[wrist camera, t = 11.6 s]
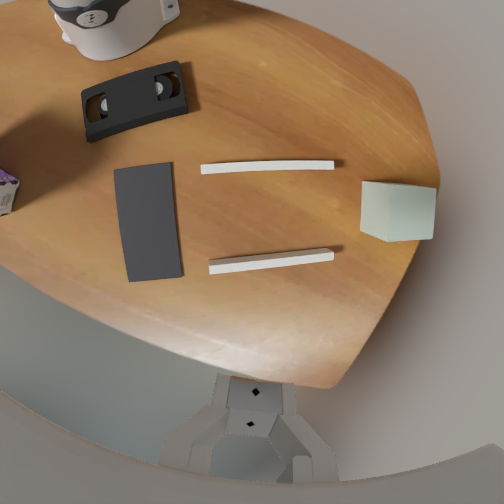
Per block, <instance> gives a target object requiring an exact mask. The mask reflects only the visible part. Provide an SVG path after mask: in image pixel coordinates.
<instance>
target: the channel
mask: <svg viewBox="0 0 504 504" xmlns="http://www.w3.org/2000/svg"><path fill="white" fill-rule="evenodd" d="M293 169H334V161H255V162H234V163H218V164H205V165H201V174H211V173H224V172H240V171H260V170H293ZM114 181H115V192H116V202H117V211H118V219H119V227H120V234H121V240H122V247H123V253H124V258H125V264H126V269H127V275H128V280H129V282H136V281H147V280H157V279H168V278H178V277H182V272H181V264H180V257H179V249H178V240H177V231H176V222H175V212H174V201H173V189H172V176H171V162H170V163H161V164H153V165H145V166H138V167H131V168H125V169H119V170H114ZM333 259H334V252H333V251H331V250H329V249H328V248H320V249H311V250H302V251H292V252H283V253H273V254H264V255H254V256H244V257H235V258H225V259H215V260H208V262H209V271H210V274H218V273H227V272H236V271H245V270H254V269H263V268H272V267H280V266H289V265H297V264H305V263H314V262H322V261H330V260H333Z"/></svg>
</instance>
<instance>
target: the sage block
mask: <svg viewBox="0 0 504 504" xmlns="http://www.w3.org/2000/svg"><path fill="white" fill-rule="evenodd" d="M435 205H436V188H430V187H423V186H416V185H409V184H398V183H384V182H368V181H362V205H361V226H360V231H362V232H364V233H367V234H369V235H372V236H374V237H377V238H379V239H381V240H384V241H386V242H392V241H406V240H420V239H432V237H433V229H434V218H435Z"/></svg>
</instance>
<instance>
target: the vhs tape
mask: <svg viewBox="0 0 504 504" xmlns="http://www.w3.org/2000/svg"><path fill="white" fill-rule="evenodd" d="M168 72H175V74H176V75H177V76H178V78H179V81H180V93H179V95H178V96H177V97H173V98H171V97H172V95H173V91H174V90H173V85H172V82H171V80H170V79H169V78H167V77H166V76H163V75H160V74H164V73H168ZM103 92H105V96H103V97H102V98H101V99H100V101H99V102H98V111H99V114H100V117H101V120H99V121H96V122H93V123H90V122H89V121H88V119H87V112H86V102H87V100H88V98H90V97H92V96H95V95H98V94H100V93H103ZM174 96H175V95H174ZM81 98H82V107H83V116H84V123H85V128H86V137H87V142H90V143H92V142H95V141H97V140H100V139H103V138H105V137H108V136H111V135H114V134H117V133H120V132H123V131H126V130H129V129H132V128H135V127H138V126H142V125H145V124H148V123H152V122H156V121H159V120H163V119H167V118H171V117H175V116H179V115H183V114H187V113H188V107H187V102H186V97H185V92H184V87H183V81H182V76H181V71H180V65H179V62H178V61H172V62H168V63H164V64H160V65H156V66H152V67H149V68H145V69H142V70H138V71H135V72H132V73H129V74H126V75H122V76H119V77H117V78H114V79H111V80H108V81H105V82H103V83H100V84H97V85H95V86H92V87H90V88H87V89H85V90H83V91H82V92H81ZM102 115H104V116H108V117H107V118H104V119H103V117H102Z"/></svg>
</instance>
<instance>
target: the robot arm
mask: <svg viewBox="0 0 504 504" xmlns="http://www.w3.org/2000/svg"><path fill="white" fill-rule="evenodd" d="M48 3H49V5H50V6H51V8H52V10H53V12H54V13H55V19H56V21H57V22H58V24H59V25H60V27H61V28H62V30H63V31H64V32H63V35H62V38H63V40H64V41H65V42H66V43H68V44H72V45H74V46H76V47H77V49H78V50H79V52H80V53H81V54H82V55H84V56H85V57H87V58H89V59H93V60H101V61H102V60H112V59H117V58H120V57H123V56H126V55H128V54H130V53H132V52H134V51H136V50H138V49H139V48H141V47H142V46H144V45H145V44H146V43H147V42H148V41H150V40H151V39H152V38H153V37H154V36H155V34H156V33H157V32H158V31H159V30H160V29H161V28H162V27H163V26H164V25H165V24H167V23H169V22H171V21H172V20H174V19H176V18H177V17H178V16H179V15H180V9H179V5H178V1H177V0H48ZM171 6H172V8H168V7H171ZM230 377H231V378H230ZM225 433H232V434H241V435H250V436H257V437H265V438H268V440H269V441H270V443H271V445H272V446H273V448H274V449H275V451H276V453H277V454H278V456H279V457H280V458H281V460H282V462H283V463H284V465H285V466H286V468H285V469H284V471H283V472H282V473H281V475H280V476H279V477H278V478H277V480H276V483H268V482H252V481H243V480H233V479H225V478H219V477H212V476H209V469H210V462H211V455H212V449H211V448H212V447H213V446H214V445H215V444H216V443H217V442H218V441H219V440H220V439H221V438H222V436H224V435H225ZM0 504H504V450H503V449H502V448H500V447H499V446H497V445H495V444H488V445H485V446H483V447H481V448H478V449H476V450H473V451H471V452H468V453H465V454H463V455H460V456H458V457H454V458H452V459H449V460H445V461H442V462H439V463H436V464H432V465H429V466H425V467H422V468H417V469H414V470H410V471H405V472H400V473H396V474H391V475H385V476H379V477H374V478H366V479H359V480H351V481H339V477H338V470H337V462H336V456H335V454H334V453H333V451H332V450H331V449H330V448H329V447H328V446H327V445H326V444H325V443H324V442H323V440H322V439H321V438H320V437H319V436H318V435H317V434H316V433H315V432H314V430H313V429H312V428H311V427H310V426H309V425H308V424H307V422H306V421H305V420H304V419H303V418H302V417H301V416H297V408H296V395H295V385H294V384H293V383H283V382H274V381H265V380H254V379H248V378H242V377H236V376H230V375H225V374H220V373H218V374H217V378H216V383H215V388H214V393H213V398H212V403H211V405H206V406H205V407H204V408H202V409H201V410H200V411H199V412H197V413H196V414H195V415H194V416H192V417H191V418H190V419H188V420H187V421H186V422H185V423H183V424H182V425H181V426H179V427H178V428H177V429H175V430H174V431H173V432H171V433H170V434H169V435H167V436H166V439H165V443H164V446H163V449H162V452H161V456H160V459H159V463H158V464H154V463H150V462H147V461H144V460H140V459H137V458H134V457H131V456H128V455H125V454H122V453H119V452H117V451H114V450H112V449H109V448H106V447H103V446H101V445H99V444H96V443H94V442H92V441H89V440H87V439H85V438H83V437H80V436H78V435H76V434H74V433H72V432H70V431H68V430H66V429H64V428H62V427H60V426H58V425H56V424H54V423H52V422H50V421H49V420H47V419H45V418H43V417H42V416H40V415H38V414H36V413H35V412H33V411H31V410H30V409H28V408H26V407H25V406H23V405H22V404H20V403H19V402H17V401H16V400H14V399H13V398H11V397H10V396H8V395H7V394H5V393H4V392H3V391H1V390H0Z"/></svg>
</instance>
